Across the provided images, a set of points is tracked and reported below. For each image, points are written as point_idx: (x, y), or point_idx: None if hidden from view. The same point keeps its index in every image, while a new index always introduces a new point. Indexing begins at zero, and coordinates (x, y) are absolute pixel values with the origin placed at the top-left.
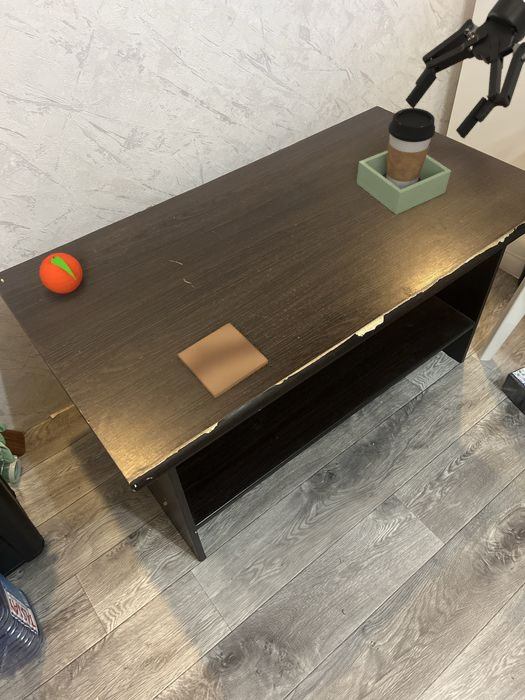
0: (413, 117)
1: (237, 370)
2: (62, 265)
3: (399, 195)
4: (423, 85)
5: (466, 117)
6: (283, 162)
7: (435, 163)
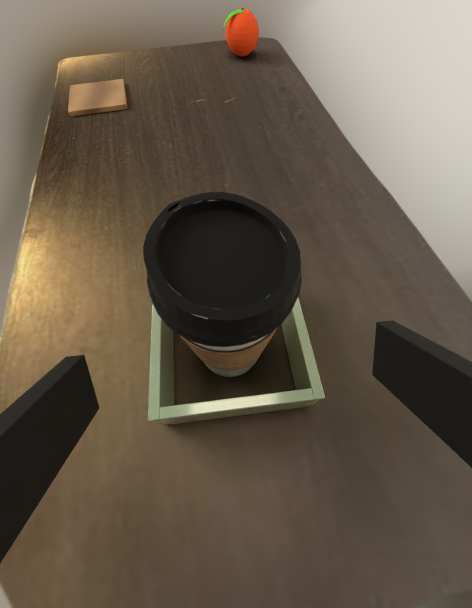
0: (251, 276)
1: (77, 97)
2: (231, 13)
3: None
4: (446, 391)
5: (43, 390)
6: (383, 221)
7: (198, 402)
